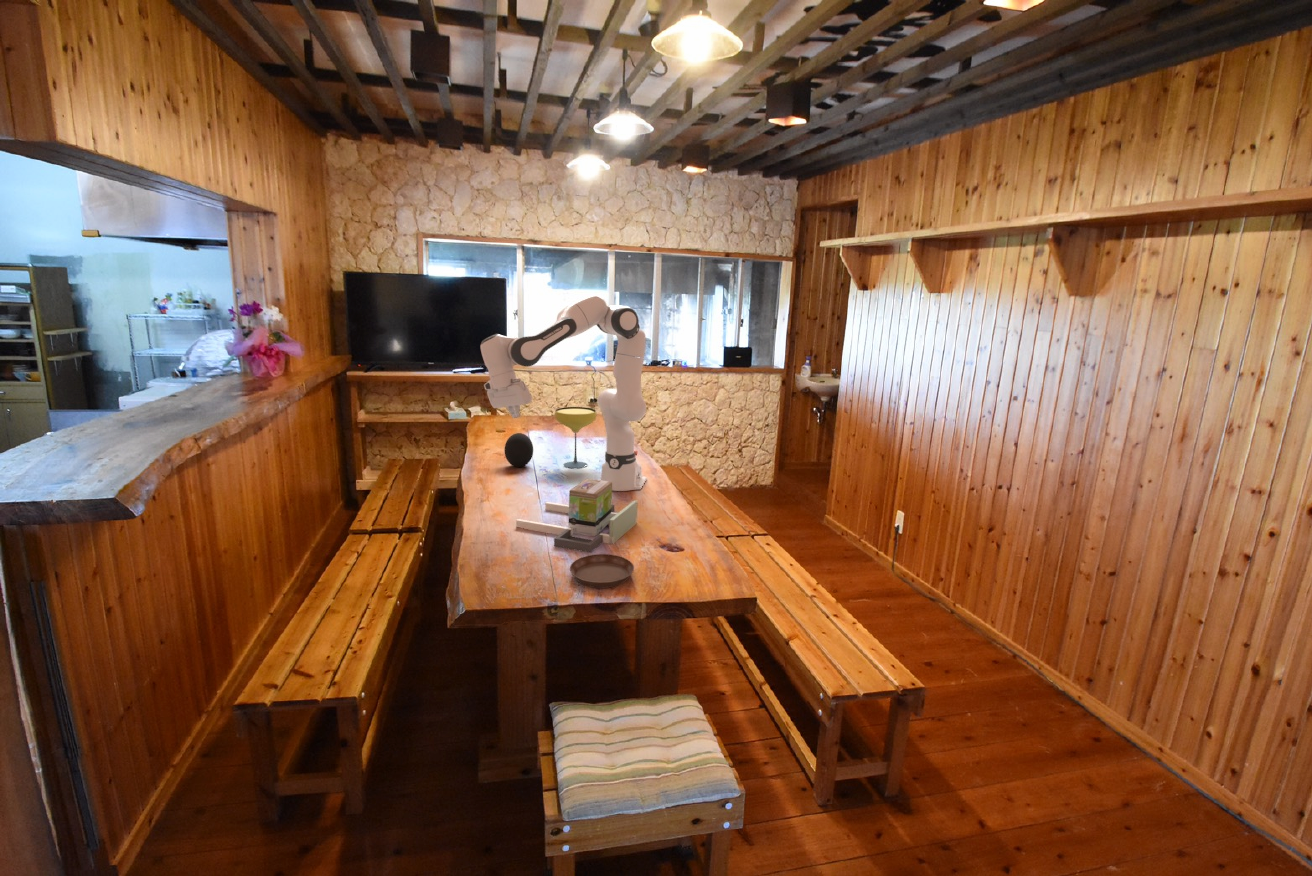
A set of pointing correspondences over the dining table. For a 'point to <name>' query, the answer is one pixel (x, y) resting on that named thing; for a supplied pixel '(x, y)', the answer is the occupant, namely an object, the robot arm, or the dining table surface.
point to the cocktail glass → (575, 425)
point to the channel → (617, 529)
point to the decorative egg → (518, 450)
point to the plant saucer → (602, 570)
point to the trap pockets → (578, 540)
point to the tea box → (590, 506)
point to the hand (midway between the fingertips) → (516, 417)
